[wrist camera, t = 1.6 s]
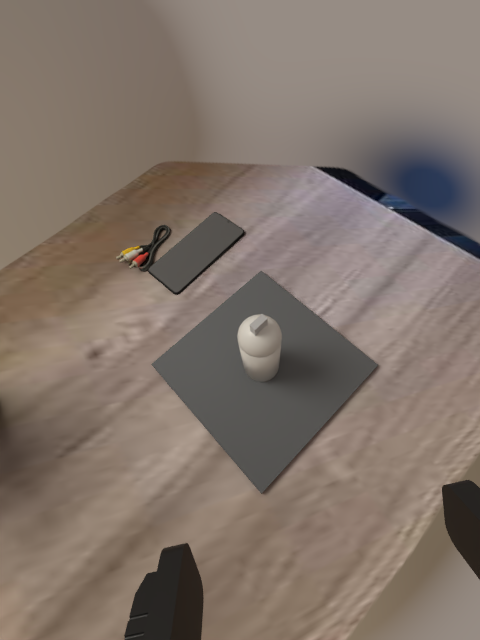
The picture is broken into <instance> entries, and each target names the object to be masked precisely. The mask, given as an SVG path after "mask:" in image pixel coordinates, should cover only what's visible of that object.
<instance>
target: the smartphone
mask: <svg viewBox="0 0 480 640" xmlns="http://www.w3.org/2000/svg"><path fill="white" fill-rule="evenodd" d="M242 236H244V230H243V229H241V228H240V227H238V226H237V225H235V224H234V223H232V222H231V221H229V220H228V219H226V218H225V217H223V216H222V215H220V214H219V213H217V212H214V213H212V214H211V215H210V216H209V217H208V218H207V219H205V220H204V221H203V222H202V223H201V224H200V225H198V226H197V227H196V228H195V229H194V230H193V231H191V232H190V233H189V234H188V235H187V236H186V237H184V238H183V239H182V240H181V241H180V242H179V243H177V244H176V245H175V246H174V247H173V248H172V249H170V250H169V251H168V252H167V253H166V254H165V255H163V256H162V257H161V258H160V259H159V260H158V261H157V262H155V263H154V264H153V265H152V266H151V267H150V268H149V269H148V272H149V273H150V274H151V275H152V276H153V277H154V278H156V279H157V280H158V281H159V282H161V283H162V284H163V285H164V286H165V287H166V288H168V289H169V290H170V291H171V292H172V293H173V294H175V295H178V294H180V293H181V292H182V291H183V290H184V289H185V288H186V287H187V286H188V285H190V284H191V283H192V282H193V281H194V280H195V279H196V278H197V277H198V276H199V275H201V274H202V273H203V272H204V271H205V270H206V269H207V268H208V267H209V266H210V265H212V264H213V263H214V262H215V261H216V260H217V259H218V258H219V257H220V256H221V255H223V254H224V253H225V252H226V251H227V250H228V249H229V248H230V247H231V246H233V245H234V244H235V243H236V242H237V241H238V240H239V239H240V238H241V237H242Z"/></svg>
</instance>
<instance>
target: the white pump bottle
mask: <svg viewBox="0 0 480 640" xmlns="http://www.w3.org/2000/svg"><path fill="white" fill-rule="evenodd" d="M237 338H238V344H239V348H240V353H241V357H242V361H243V366H244V370H245V372H246V374H247V375H248V377H250V378H251V379H252V380H254V381H258V382H265V381H269V380H271V379H272V378H273V377H274V376H275V375H276V374H277V372H278V369H279V361H280V351H281V341H282V333H281V329H280V327H279V325H278V324H277V322H276V321H275V320H274V319H272V318H271V317H269V316H266V315H263V314H258V315H253V316H250V317H248V318H247V319H245V320H244V321H243V322H242V324H241V325H240V327H239V330H238V335H237Z"/></svg>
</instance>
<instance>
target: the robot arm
mask: <svg viewBox="0 0 480 640" xmlns="http://www.w3.org/2000/svg"><path fill="white" fill-rule="evenodd" d="M442 495H443V506H444V517H445V525H446V528H447V531H448V534H449V536H450V538H451V540H452V542H453V543H454V545H455V547H456V548H457V550H458V551H459V552H460V554H461V555H462V556H463V558H464V559H465V560H466V562H467V563H468V564H469V566H470V567H471V568H472V570H473V571H474V573H475V574H476V575H477V577H478V578H479V579H480V488H479V487H478V486H477V485H476V484H475V483H474V482H472V481H470V480H465V481H460V482H456V483H452V484H447V485H444V486H443V487H442ZM202 616H203V586H202V581H201V577H200V574H199V571H198V569H197V566H196V563H195V560H194V558H193V555H192V552H191V549H190V547H189V545H188V543H185V544H180V545H176V546H172V547H167V548H164V549H163V550H162V552H161V555H160V560H159V564H158V569H157V571H156V572H152V573H148V574H146V576H145V578H144V580H143V582H142V583H141V585H140V587H139V589H138V590H137V592H136V594H135V597H134V601H133V605H132V609H131V613H130V620H129V621H128V624H127V628H126V632H125V640H201V631H202Z"/></svg>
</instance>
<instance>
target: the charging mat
mask: <svg viewBox="0 0 480 640" xmlns="http://www.w3.org/2000/svg"><path fill="white" fill-rule="evenodd" d="M258 314H263V315H266V316H269V317H271V318H272V319H274V320H275V321H276V322H277V324H278V325H279V327H280V329H281V333H282V341H281V351H280V361H279V369H278V372H277V374H276V375H275V376H274V377H273V378H272V379H271V380H269V381H265V382H258V381H254V380H252V379H251V378H250V377H248V375H247V374H246V372H245V370H244V366H243V361H242V357H241V353H240V348H239V344H238V338H237V335H238V330H239V327H240V325H241V324H242V322H243V321H244V320H245V319H247V318H248V317H250V316H253V315H258ZM152 366H153V367H154V368H155V369H156V370H157V371H158V373H159V374H160V375H161V376H162V377H163V379H164V380H165V381H166V382H167V383H168V384H169V386H170V387H171V388H172V389H173V390H174V391H175V393H176V394H177V395H178V396H179V397H180V399H181V400H182V401H183V402H184V403H185V404H186V406H187V407H188V408H189V409H190V410H191V411H192V413H193V414H194V415H195V416H196V417H197V419H198V420H199V421H200V422H201V423H202V424H203V426H204V427H205V428H206V429H207V430H208V431H209V433H210V434H211V435H212V436H213V437H214V439H215V440H216V441H217V442H218V443H219V444H220V446H221V447H222V448H223V449H224V450H225V451H226V453H227V454H228V455H229V456H230V457H231V458H232V460H233V461H234V462H235V463H236V464H237V466H238V467H239V468H240V469H241V470H242V471H243V473H244V474H245V475H246V476H247V477H248V478H249V480H250V481H251V482H252V483H253V484H254V486H255V487H256V488H257V489H258V490H259V491H260V493H261V494H262V492H263V491H264V490H265V489H266V488H267V487H268V486H269V485H270V484H271V483H272V481H273V480H274V479H275V478H276V477H277V476H278V475H279V474H280V473H281V472H282V470H283V469H284V468H285V467H286V466H287V465H288V464H289V463H290V462H291V460H292V459H293V458H294V457H295V456H296V455H297V454H298V453H299V452H300V451H301V449H302V448H303V447H304V446H305V445H306V444H307V443H308V442H309V441H310V440H311V438H312V437H313V436H314V435H315V434H316V433H317V432H318V431H319V430H320V429H321V427H322V426H323V425H324V424H325V423H326V422H327V421H328V420H329V419H330V417H331V416H332V415H333V414H334V413H335V412H336V411H337V410H338V409H339V408H340V406H341V405H342V404H343V403H344V402H345V401H346V400H347V399H348V398H349V397H350V395H351V394H352V393H353V392H354V391H355V390H356V389H357V388H358V387H359V386H360V384H361V383H362V382H363V381H364V380H365V379H366V378H367V377H368V376H369V375H370V373H371V372H372V371H373V370H374V369H375V368H376V367H377V366H378V364H376V363H375V362H374V361H373V360H371V359H370V358H369V357H368V356H366V355H365V354H364V353H363V352H361V351H360V350H359V349H358V348H357V347H355V346H354V345H353V344H352V343H350V342H349V341H348V340H347V339H345V338H344V337H343V336H342V335H340V334H339V333H338V332H337V331H335V330H334V329H333V328H332V327H330V326H329V325H328V324H327V323H325V322H324V321H323V320H322V319H321V318H319V317H318V316H317V315H316V314H314V313H313V312H312V311H311V310H309V309H308V308H307V307H306V306H304V305H303V304H302V303H301V302H299V301H298V300H297V299H296V298H294V297H293V296H292V295H291V294H289V293H288V292H287V291H286V290H284V289H283V288H282V287H281V286H280V285H278V284H277V283H276V282H275V281H273V280H272V279H271V278H270V277H268V276H267V275H266V274H265V273H263V272H262V271H260V272H259V273H258V274H257V275H256V276H254V277H253V278H252V279H251V280H250V281H249V282H247V283H246V284H245V285H244V286H243V287H242V288H240V289H239V290H238V291H237V292H236V293H235V294H233V295H232V296H231V297H230V298H229V299H227V300H226V301H225V302H224V303H223V304H222V305H220V306H219V307H218V308H217V309H216V310H215V311H213V312H212V313H211V314H210V315H209V316H208V317H206V318H205V319H204V320H203V321H202V322H200V323H199V324H198V325H197V326H196V327H195V328H193V329H192V330H191V331H190V332H189V333H188V334H186V335H185V336H184V337H183V338H182V339H181V340H179V341H178V342H177V343H176V344H175V345H173V346H172V347H171V348H170V349H169V350H168V351H166V352H165V353H164V354H163V355H162V356H161V357H159V358H158V359H157V360H156V361H155V362H154V363H152Z"/></svg>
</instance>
